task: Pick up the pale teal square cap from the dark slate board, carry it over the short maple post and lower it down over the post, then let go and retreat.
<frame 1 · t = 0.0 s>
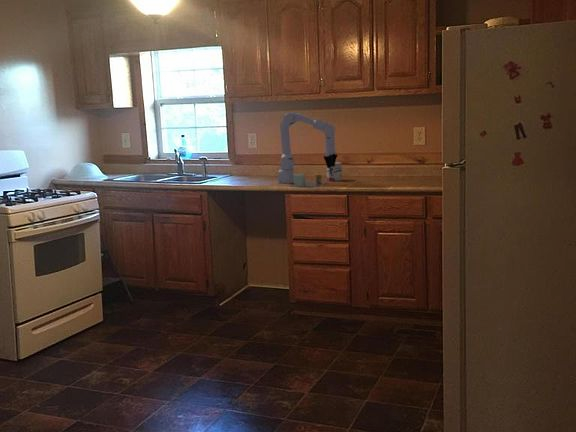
hand: (330, 167, 397), 10 cm above the worktop, fingers open, 7 cm apart
post: (319, 183, 398), resting on board
cap: (300, 185, 390), point 1 cm above the worktop, touching board
ink box: (334, 181, 408), on the worktop
board: (308, 185, 395), on the worktop
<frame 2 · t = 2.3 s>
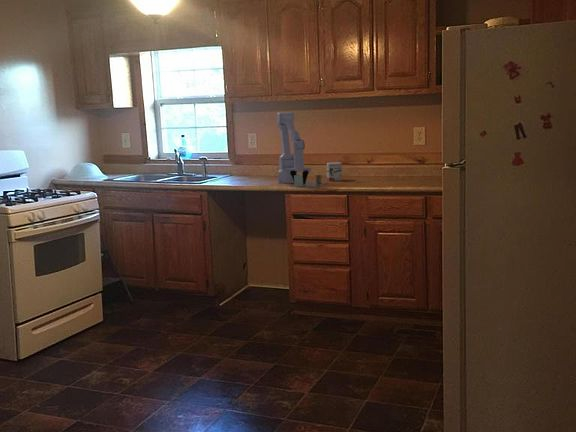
hand: (299, 183, 389), 2 cm above the worktop, fingers closed on cap, 5 cm apart
cap: (300, 185, 390), point 1 cm above the worktop, touching board, gripper
everything else where it was.
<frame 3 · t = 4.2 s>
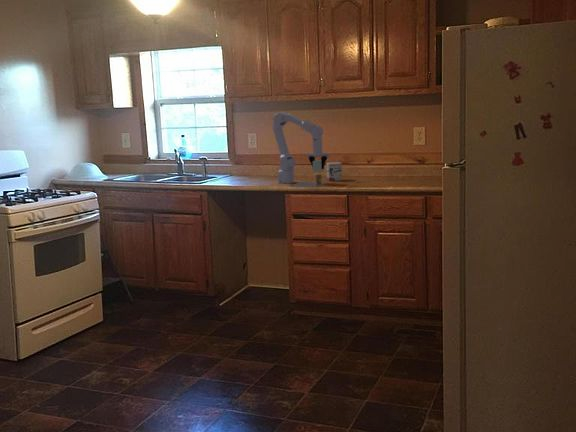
hand: (318, 169, 396), 9 cm above the worktop, fingers closed on cap, 5 cm apart
cap: (318, 171, 396), point 8 cm above the worktop, touching gripper
everything else where it was.
when the fingers open (3 cm above the worktop, at t = 6.2 s): cap stays where it is, resting on board.
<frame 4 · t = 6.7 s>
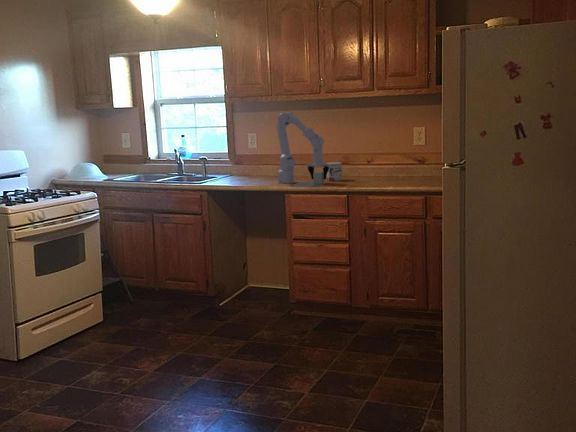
hand: (318, 179, 397), 3 cm above the worktop, fingers open, 7 cm apart
cap: (319, 183, 398), point 1 cm above the worktop, touching board
everything else where it was.
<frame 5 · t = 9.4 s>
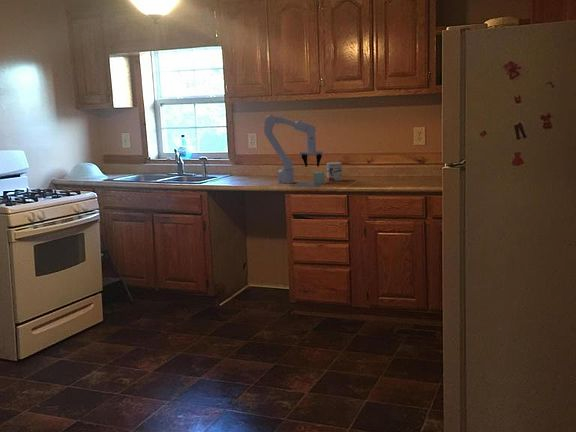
hand: (312, 166, 407), 10 cm above the worktop, fingers open, 7 cm apart
nothing on the worktop moved.
at the end: cap 0.1 cm from the post (horizontally); cap point 0.8 cm above the worktop; the gripper is holding nothing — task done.
